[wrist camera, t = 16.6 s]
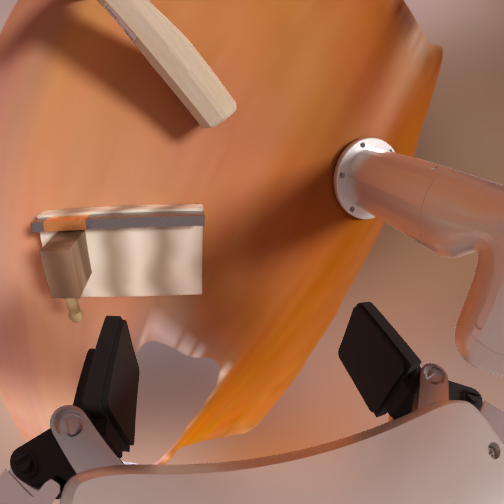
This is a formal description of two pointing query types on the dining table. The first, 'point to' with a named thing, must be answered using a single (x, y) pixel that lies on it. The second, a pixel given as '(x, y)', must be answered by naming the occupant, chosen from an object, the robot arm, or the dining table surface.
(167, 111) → the dining table surface
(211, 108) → the hammer
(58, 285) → the brown block with stick
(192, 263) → the board
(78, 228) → the rail
